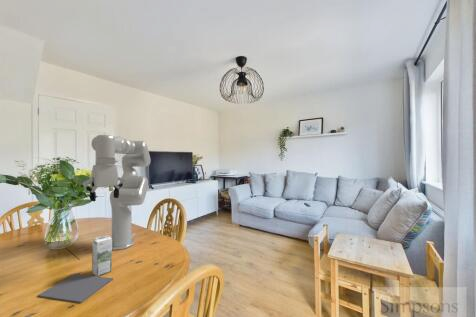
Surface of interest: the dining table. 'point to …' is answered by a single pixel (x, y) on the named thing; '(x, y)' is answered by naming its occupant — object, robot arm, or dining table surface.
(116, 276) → the dining table surface
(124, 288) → the dining table surface
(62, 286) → the mat
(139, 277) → the dining table surface
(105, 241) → the syrup box
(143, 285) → the dining table surface
